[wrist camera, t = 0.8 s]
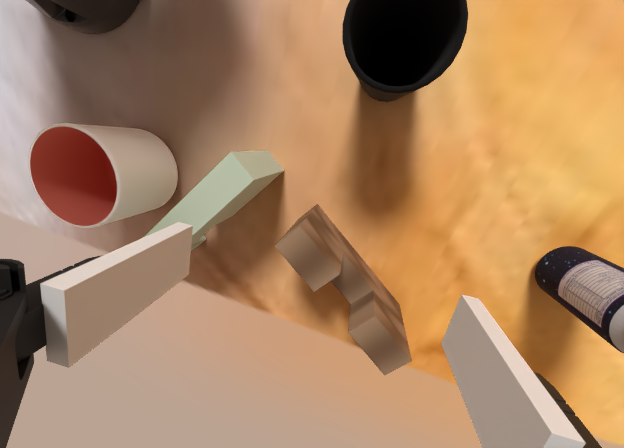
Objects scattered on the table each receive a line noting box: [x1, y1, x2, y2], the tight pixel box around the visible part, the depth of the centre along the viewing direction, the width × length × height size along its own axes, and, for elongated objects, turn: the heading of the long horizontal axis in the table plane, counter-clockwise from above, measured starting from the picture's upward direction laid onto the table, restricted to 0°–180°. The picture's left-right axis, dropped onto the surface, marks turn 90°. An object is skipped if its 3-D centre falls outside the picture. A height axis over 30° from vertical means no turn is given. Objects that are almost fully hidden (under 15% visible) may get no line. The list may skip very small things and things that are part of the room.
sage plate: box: [143, 150, 284, 251], centre depth 32 cm, size 16×3×10 cm, turn 130°
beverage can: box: [535, 246, 624, 353], centre depth 26 cm, size 6×6×12 cm
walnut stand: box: [275, 204, 412, 375], centre depth 31 cm, size 16×3×10 cm, turn 40°
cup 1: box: [29, 123, 178, 228], centre depth 33 cm, size 10×10×10 cm
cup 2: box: [343, 0, 468, 102], centre depth 24 cm, size 8×8×12 cm
